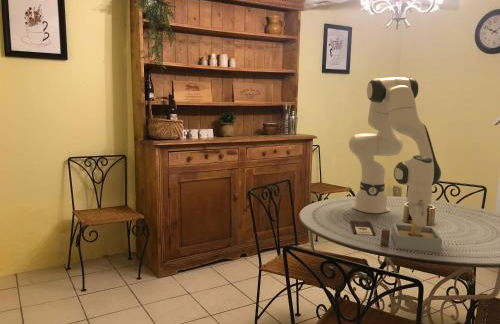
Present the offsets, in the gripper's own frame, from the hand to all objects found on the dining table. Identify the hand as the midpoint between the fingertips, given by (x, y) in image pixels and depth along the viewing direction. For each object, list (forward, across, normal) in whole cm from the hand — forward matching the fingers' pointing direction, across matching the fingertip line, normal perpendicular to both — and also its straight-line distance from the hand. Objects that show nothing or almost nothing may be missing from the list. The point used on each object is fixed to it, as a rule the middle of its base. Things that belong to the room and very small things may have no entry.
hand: (415, 231), depth 165 cm
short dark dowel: (+5, -6, +12) cm, 14 cm away
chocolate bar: (+5, +13, +20) cm, 24 cm away
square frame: (+5, 0, 0) cm, 5 cm away
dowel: (+4, 0, 0) cm, 4 cm away
